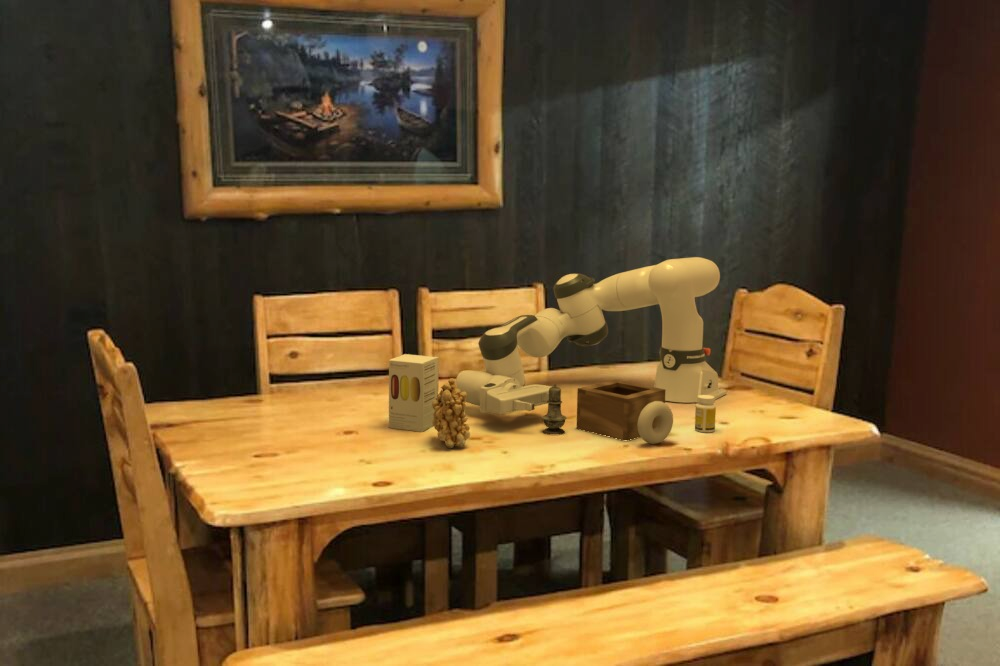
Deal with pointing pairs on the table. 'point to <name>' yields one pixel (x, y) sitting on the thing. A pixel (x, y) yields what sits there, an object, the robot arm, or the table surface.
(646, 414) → the donut
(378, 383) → the table surface
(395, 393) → the supplement box
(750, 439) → the table surface
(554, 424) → the salt shaker
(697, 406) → the supplement bottle
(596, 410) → the box
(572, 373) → the table surface
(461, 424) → the mineral formation
